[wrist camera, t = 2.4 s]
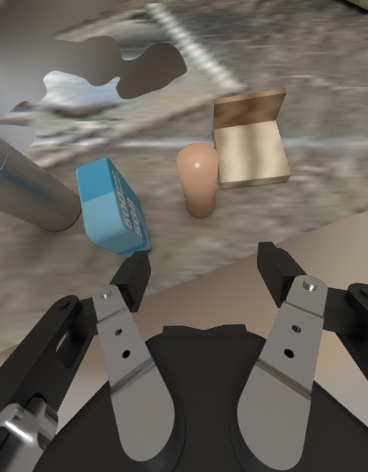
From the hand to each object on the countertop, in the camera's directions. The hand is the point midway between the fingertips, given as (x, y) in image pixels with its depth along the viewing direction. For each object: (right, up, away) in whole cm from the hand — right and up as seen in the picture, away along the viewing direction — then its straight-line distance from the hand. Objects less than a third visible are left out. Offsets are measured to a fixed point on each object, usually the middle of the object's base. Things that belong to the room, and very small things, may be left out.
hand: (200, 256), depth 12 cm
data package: (-11, +3, +21) cm, 24 cm away
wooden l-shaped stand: (+11, +18, +22) cm, 30 cm away
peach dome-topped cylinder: (+2, +7, +20) cm, 21 cm away
